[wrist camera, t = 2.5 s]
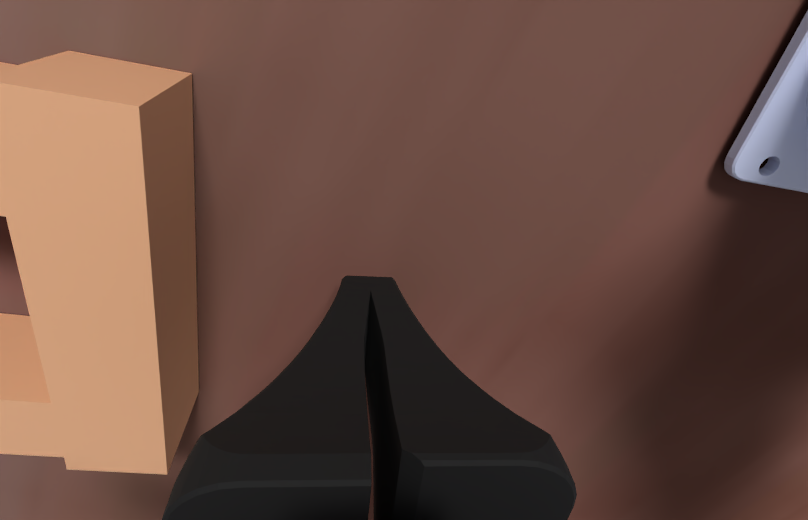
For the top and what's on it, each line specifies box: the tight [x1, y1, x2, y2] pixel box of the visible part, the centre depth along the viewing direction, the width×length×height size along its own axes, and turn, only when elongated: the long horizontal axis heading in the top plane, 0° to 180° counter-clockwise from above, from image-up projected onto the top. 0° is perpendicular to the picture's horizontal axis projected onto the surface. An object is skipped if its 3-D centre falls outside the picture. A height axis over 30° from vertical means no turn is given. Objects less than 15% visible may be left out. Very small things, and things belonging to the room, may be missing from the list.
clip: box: [0, 51, 199, 475], centre depth 11 cm, size 8×10×3 cm
